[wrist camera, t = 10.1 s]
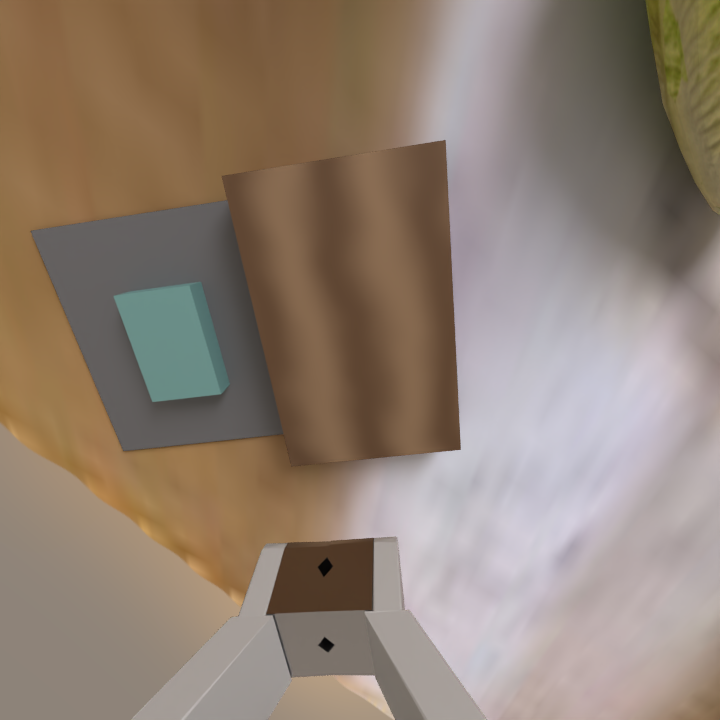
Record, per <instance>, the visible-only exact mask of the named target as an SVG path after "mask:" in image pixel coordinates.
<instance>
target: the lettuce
mask: <svg viewBox="0 0 720 720" xmlns="http://www.w3.org/2000/svg"><path fill="white" fill-rule="evenodd" d="M645 1H646V8H647V15H648V22H649V29H650V36H651V41H652V46H653V51H654V57H655V63H656V68H657V74H658V79H659V85H660V91H661V96H662V102H663V106H664V109H665V111H666V114H667V117H668V119H669V122H670V124H671V127H672V130H673V132H674V135H675V138H676V140H677V143H678V145H679V148H680V150H681V153H682V155H683V157H684V159H685V162H686V164H687V166H688V168H689V171H690V173H691V175H692V177H693V180H694V182H695V183H696V185H697V186H698V188H699V190H700V191H701V193H702V194H703V196H704V198H705V199H706V201H707V202H708V204H709V205H710V207H711V209H712V210H713V211H714V212H716V213H717V214H719V215H720V0H645Z"/></svg>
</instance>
